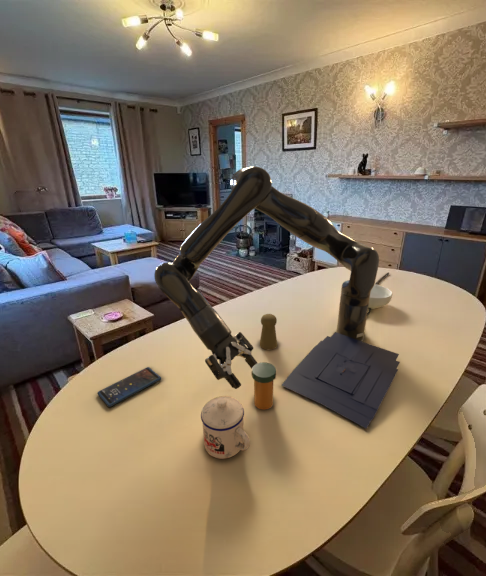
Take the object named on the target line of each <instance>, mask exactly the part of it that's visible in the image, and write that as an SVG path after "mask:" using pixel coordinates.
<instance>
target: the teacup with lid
mask: <svg viewBox="0 0 486 576" xmlns="http://www.w3.org/2000/svg"><path fill="white" fill-rule="evenodd" d="M244 418H245V409H244V406H243V404H242V403H241V402H240V400H238V399H237V398H235V397H232V396H230V395H229V396H228V395H221V396H217V397H214V398H213V397H212V398H211V399H210V400H208V401H207V402H206V403H205V404H204V405H203V406H202V409H201V411H200V419H201V422H202V432H203V443H204V448H205V451H206V452H207V453H208V454H209V455H210V456H211V457H213V458H216V459H221V460H225V459H229V458H232V457H234V456H235V455H237V454H238V453H239V452H240V451H246V450H248V448H249V447H250V445H251V440H250V437H249V435H248V434H247V432H246V431H245V430H244Z"/></svg>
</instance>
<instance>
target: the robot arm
mask: <svg viewBox="0 0 486 576" xmlns="http://www.w3.org/2000/svg"><path fill="white" fill-rule="evenodd" d="M272 183H273V182H272V178H271V176H270V174H269V172H268V171H267V170H266V169H264V168H263V167H260V166H255V165H254V166H247V167H242V168H239V169H238V170H236V171H235V173H233V175H232V176H231V178H230V182H229V184H230V185H229V186H230V193H229V195H228V196H227V197H226V198H225V200H224V201H223V202H222V204H220V205H219V206H218V208H216V209H215V210H214V211H213V212H212V213H211V214H210V215H209V216H208V217H206V218H205V219H204V220H203V221H202V222H201V223H200V224H199V225H197V227H196V228H195V229H194V230H193V231H192V232H191V233H190V234H189V235H188V236H187V238H186V239H185V240H184V241H183V243H182V244H181V245H180V246H179V249H178V251H179V253H178V255H177V256H176V258H174V260H173V262H170V261H169V262H167V261H166V262H162V263H160V264H159V265H158V266H157V267H156V268H155V270H154V273H153V277H154V281H155V284H156V286H157V287H158V288H159V290H160V291H161V292H162V293H163V294H164V295H165V296H166V297H167V298H168V299H169V300H170V302H172V303H173V304H174V305H175V306H176V307H177V309H178V310H179V311H180V313H181V314H182V315H183V317H184V318H185V319H186V321H187V322H188V324H189V325H190V327H191V329H192V330H193V332H194V333H195V335H196V336H197V337H198V339H199V340H200V341H201V342H202V344H203V345H204V346H205V348H206V349H207V350H208V351H210V352H211V353H212V354H211V355H209V356H208V357H207V358H205V359H204V362H205V364H206V365H207V367H208V368H209V371H210V372H211V373H212V375H213V376H214V378H215V379H216V380H217V381H219V380H222V379H225V380H226V381H227V383H228V384H229V385H230V387H231V388H233V389H234V390H238V389H239V388H240V387H242V383H241V382H240V380H239V379H238V378H237V376H236V375H235V373H234V372H232V367H231V366H232V361H233V360H234V359H235V358H236V357H241V358H243V359H244V361H245V363H246V364H247V365H248V366H249V368H250V369H251V370H252V367H253V366H254V365H255V364H257V363H258V362H257V361H258V360H256V359H255V358H254V356H253V355H252V352H253V350H254V346H253V345H252V343H251V342H250V341H249V340H248V339H247V337H246V336H245V335H244V334H243V333H242V332H241V331H239V332H237V333H236V334H235V335H233V334H232V330H231V329H230V327H229V326H228V325H227V323H226V322H225V321H224V320H223V318H222V317H221V316H220V314H219V313H218V311H216V309H214V307H213V306H212V305H211V304H210V303H209V302H208V299H207V298H206V297H205V296H204V295H203V294H202V292H200V291H199V290H198V289H196V287H194V286H193V285H192V284H191V282H190V281H191V280H192V279H193V277H194V275H195V274H196V273H197V271H198V269H199V268H200V266H201V264H202V263H203V262H205V260H206V259H207V258H208V257H209V256H210V255H211V253H212V252H213V251H214V250H215V249H216V248H217V246H219V245H220V244H221V242H222V241H223V240H224V239H225V238H226V236H227V235H228V234H229V233H230V232H231V231H232V230H233V229H234V227H236V226H237V225H238V224H239V223H240V222H241V221H242V220H243V219H244V218H245V217H247V215H249V214H250V213H251V212H252V211H253V210H254V209H255V210H257V211H259V212H261V213H263V214H265V215H266V216H268V217H269V218H270V219H272V220H273V221H274V222H276V223H277V224H278V225H279V226H281V227H282V228H283V229H285V230H286V231H288V232H289V233H290V234H292V235H293V236H295V237H296V238H298V239H299V240H301V241H302V242H304V243H305V244H308V245H310V246H311V247H314V248H315V249H318V250H321V251H323V252H325V253H326V254H329V255H330V256H331V257H333V258H334V259H335V260H336V261H337V262H338V263H340V264H341V266H343V267H344V268H345V269H346V270H348V271H350V274H349V275H350V276H349V279H348V280H345V281H343V282H342V284H341V289H340V298H339V307H338V315H337V325H336V332H337V333H339V334H342V335H345V336H348V337H351V338H353V339H356V340H359V341H362V342H364V340H365V331H366V325H367V318H368V316H369V315H370V314H371V311H372V309H371V308H369V309H368V306H369V299H370V293H371V290H372V288H373V286H374V284H376V285H379V283H380V282H381V281H382V280H383V279H384V278H385V277H387V276H388V275H389V274H390V272H387V273H385V274H384V275H383V276H381V277H380V278H379V279H378V280H377V274H378V270H379V266H380V255H379V253H378V251H377V250H376V249H374V248H373V247H370V246H368V245H367V244H363V243H361V242H359V241H355V240H353V239H352V238H350V237H349V236H347V235H345V234H343V233H342V232H340V231H339V230H338V229H337V227H336V226H335V225H334V224H333V223H332V221H330V219H328V218H327V217H326V216H325V215H324V214H322V213H321V212H319V211H318V210H317V209H315V208H314V207H312V206H310V205H309V204H306V203H304V202H303V201H300V200H298V199H296V198H293V197H291V196H288V195H286V194H284V193H283V192H281V191H279V190H278V189H276V188H275V186H273V184H272ZM376 280H377V281H376Z"/></svg>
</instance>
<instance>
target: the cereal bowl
mask: <svg viewBox="0 0 486 576" xmlns="http://www.w3.org/2000/svg"><path fill="white" fill-rule="evenodd" d="M392 298H393V291H392V290H391V289H390V288H388V287H386V286H383V285H380V284H377V285H376V283H375V284H374V286H373V288H372V290H371V293H370V299H369V306H368V310H369V308H371V310H376V309H379V308H383V307H385V306H387V305H389V304H390V302H391V301H392Z"/></svg>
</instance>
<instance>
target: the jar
mask: <svg viewBox="0 0 486 576" xmlns="http://www.w3.org/2000/svg"><path fill="white" fill-rule="evenodd" d="M253 387H254V388H253V402H254V403H253V404H254V406H255V407H256V408H257V409H259V410H263V411H264V410H269V409H271V408H272V406H273V405H274V380H273V381H272V382H269V383H259V382H257V381H255V380H254V379H253Z"/></svg>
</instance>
